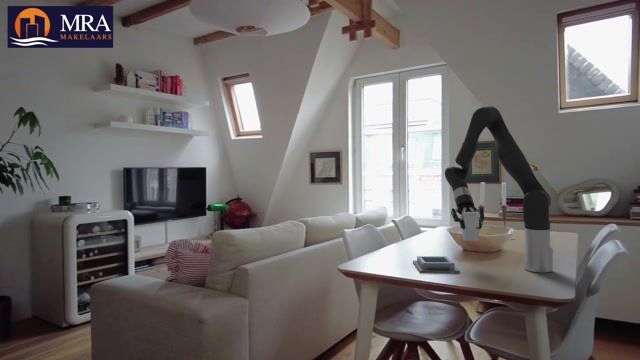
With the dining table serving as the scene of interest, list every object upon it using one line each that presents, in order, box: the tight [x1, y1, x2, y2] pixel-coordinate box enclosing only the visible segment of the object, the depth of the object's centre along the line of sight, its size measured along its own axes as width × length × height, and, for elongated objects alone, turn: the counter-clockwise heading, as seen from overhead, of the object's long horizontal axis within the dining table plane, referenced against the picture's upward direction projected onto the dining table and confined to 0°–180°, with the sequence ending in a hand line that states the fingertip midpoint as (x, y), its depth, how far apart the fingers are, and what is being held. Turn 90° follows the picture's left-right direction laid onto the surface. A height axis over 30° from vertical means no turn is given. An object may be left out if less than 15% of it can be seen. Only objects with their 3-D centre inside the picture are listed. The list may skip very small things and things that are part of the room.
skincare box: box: [462, 212, 480, 242], centre depth 163 cm, size 6×4×12 cm
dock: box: [412, 255, 461, 274], centre depth 162 cm, size 16×18×4 cm
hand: (472, 228), depth 162 cm, fingers closed on skincare box, 6 cm apart
